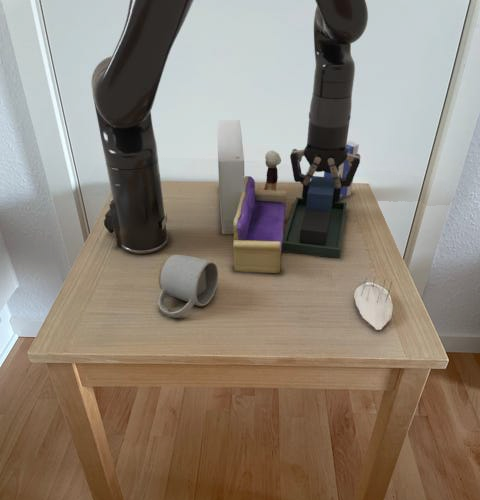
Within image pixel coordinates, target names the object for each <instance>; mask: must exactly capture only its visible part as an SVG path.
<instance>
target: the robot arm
mask: <svg viewBox="0 0 480 500" xmlns="http://www.w3.org/2000/svg"><path fill="white" fill-rule="evenodd" d="M314 1H315V3H316V7H315V11H314V16H313V46H314V47H313V48H314V60H315V61H314V62H315V68H314V73H313V86H312V96H311V100H310V104H309V112H308V127H307V140H306V146H305V147H304V149H297V148H293V149H292V150H291V152H290V155H289V158H290V163H291V169H292V175H293V180H294V182H295V183H300V184H301V185H302V191H301V198H303V199H305V202H307V193H308V189H309V187H310V183H311V178H312V176H315V175H314V174H315V173H321V172H322V173H323V172H327V173H331V175H332V178H333V180H334V184H335V185H334V193H333V200H332V205H335V203H336V202H340V200H341V199H340V192H341V188H342V187H344V186H346V187H349V186H350V185H351V182H352V180H353V181H354V178H355V175H356V173H357V170H358V168H359V165H360V163H361V155H360V153H357V154H356V155H352V154H349V153H348V151H347V149H346V144H347V142H348V136H349V129H350V123H351V122H350V121H351V118H352V117H351V114H352V107H353V105H352V103H353V101H352V100H353V99H352V97H353V89H354V82H355V73H356V64H355V60H354V59H353V56H352V52H351V50H352V48H351V47H352V44H354V43H355V42H357V41H358V40H359V39H360V38H361V37H362V36H363V34H364V33H365V31H366V29H367V26H368V22H369V21H368V20H369V11H368V5H367V2H366V0H314ZM194 2H195V0H129V4H128V10H127V14H126V19H125V22H124V26H123V30H122V32H121V34H120V37H119V40H118V41H117V44H116V46H115V48H114V50H113V53H112V55H111V56H108V57H106V58H104V59H102V60H101V61H100V62H98V63H97V65H96V67H95V68H94V70H93V72H92V75H91V85H90V86H91V94H92V99H93V104H94V109H95V114H96V118H97V119H96V120H97V124H98V130H99V136H100V141H101V145H102V150H103V155H104V161H105V165H106V170H107V176H108V181H109V186H110V191H111V197H112V199H111V200H110V202H109V205H108V206H109V210H107V211H106V213H105V214H104V217H105V218H104V219H103V226H104V227H105V229H106V230H107V231H108V232H109V234H113V233H114V237H115V241H116V247H117V248H121V249H122V250H123V251H125V252H127V253H129V254H134V255H148V254H153V253H156V252H158V251H161V250H162V249H164V248H165V247H166V246H167V244H168V242H169V237H168V231H167V223H168V221H169V220H168V214H167V213H166V214H165V205H164V197H163V189H162V188H163V187H162V181H161V180H162V179H161V173H160V172H161V171H160V163H159V154H158V146H157V145H158V144H157V140H156V136H155V131H154V126H153V119H152V109H153V106H154V103H155V100H156V96H157V93H158V90H159V86H160V83H161V79H162V77H163V73H164V70H165V67H166V64H167V61H168V58H169V55H170V53H171V50H172V48H173V45H174V44H175V42H176V40H177V37H178V35H179V33H180V31H181V29H182V28H183V25H184V23H185V21H186V19H187V17H188V14H189V12H190V10H191V8H192V6H193V3H194ZM303 157H304V158H305V159H306V161H307V163H308V165H309V166H308V169H307V171H306V173H305V174H304V173H302V168H301V162H302V159H303ZM345 160H348V166H350V168H349V170H348V173H347V175H346V177H345V178H341V174H340V169H339V166H340V165H341V164H342V163H343V162H344V161H345ZM339 199H340V200H339Z"/></svg>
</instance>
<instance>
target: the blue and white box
mask: <svg viewBox="0 0 480 500" xmlns="http://www.w3.org/2000/svg"><path fill="white" fill-rule="evenodd" d="M359 146H360V145H359V144H357V143H355V142H353V141H350V140H349V141H348V140H347V144H346V149H347V151H348V153H349V154H352V155H356V154H358V153H359V152H358V151H359ZM349 168H350V166H348V160H345V161H344V162H343V163H342V164H341V165H340V166H339V169H340V174H341V178H345V177H346V175H347V173H348V170H349ZM323 172H324V171H323ZM323 177H330V178H332V175H331V173H327V172H324V173H323ZM353 181H354V179H353V180H352V182H351V185H350V186H349V187H346V186H344V187H342V188H341V192H340V199H339V201H340V200H342V199H344V198H346V197H348V196H350V195H351V194H352V189H353V183H354V182H353Z"/></svg>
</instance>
